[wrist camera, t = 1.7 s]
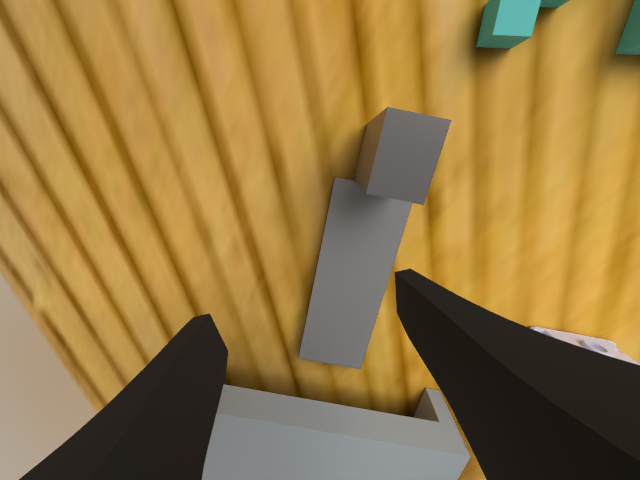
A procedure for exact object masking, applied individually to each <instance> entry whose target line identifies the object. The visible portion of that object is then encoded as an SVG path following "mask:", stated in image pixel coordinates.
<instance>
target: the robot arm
mask: <svg viewBox="0 0 640 480" xmlns="http://www.w3.org/2000/svg"><path fill="white" fill-rule="evenodd" d="M395 285H396V303H397V314H398V316H399V318H400V320H401V322H402V325H403V327H404V329H405V331H406V333H407V335H408V337H409V339H410V340H411V342H412V344H413V345H414V347H415V349H416V350H417V352H418V353H419V355H420V357H421V358H422V360H423V362H424V363H425V365H426V366H427V368H428V370H429V371H430V373H431V374H432V376H433V378H434V379H435V381H436V382H437V384H438V386H439V387H440V389H441V391H442V392H443V394H444V396H445V397H446V399H447V401H448V403H449V404H450V406H451V408H452V410H453V412H454V414H455V416H456V418H457V420H458V422H459V424H460V426H461V428H462V430H463V432H464V434H465V436H466V438H467V440H468V442H469V444H470V446H471V448H472V450H473V452H474V454H475V456H476V458H477V460H478V462H479V464H480V466H481V469H482V471H483V473H484V475H485V477H486V479H487V480H640V364H639V363H638V362H636V361H635V360H633V359H632V358H630V357H629V356H627V355H626V354H624V353H623V352H621V351H620V350H618V349H617V348H616V344H615V343H614V342H612V341H610V340H605V339H600V338H595V337H589V336H584V335H578V334H573V333H568V332H562V331H557V330H552V329H546V328H541V327H534V326H533V327H530V328H528V327H525V326H523V325H520V324H518V323H516V322H513V321H511V320H508V319H506V318H504V317H501V316H499V315H497V314H495V313H493V312H490V311H488V310H486V309H484V308H482V307H480V306H478V305H476V304H474V303H472V302H470V301H468V300H466V299H464V298H462V297H460V296H458V295H456V294H455V293H453V292H451V291H449V290H447V289H445V288H444V287H442V286H440V285H438V284H436V283H435V282H433V281H431V280H429V279H428V278H426V277H424V276H422V275H421V274H419V273H417V272H415V271H413V270H412V269H407V270H402V271H398V272H395ZM227 357H228V350H227V348H226V346H225V344H224V342H223V340H222V338H221V336H220V334H219V332H218V330H217V328H216V326H215V323H214V321H213V319H212V317H211V315H210V314H206V315H201V316H197V317H193V318H192V319H191V320H190V321H189V322H188V323H187V324H186V325H185V326H184V327H183V328H182V329H181V330H180V331H179V332H178V333H177V334H176V335H175V336H174V338H173V339H172V340H171V341H170V342H169V343H168V344H167V345H166V346H165V347H164V348H163V349H162V350H161V351H160V352H159V353H158V354H157V355H156V357H155V358H154V359H153V360H152V361H151V362H150V363H149V364H148V365H147V366H146V367H145V368H144V369H143V370H142V371H141V372H140V373H139V374H138V375H137V376H136V377H135V378H134V379H133V380H132V381H131V382H130V383H129V384H128V385H127V386H126V387H125V388H124V389H123V390H122V391H121V392H120V393H119V394H118V395H117V396H116V397H115V398H114V399H113V400H112V401H111V402H109V403H108V404H107V405H106V406H105V407H104V408H103V409H102V410H101V411H100V412H99V413H98V414H96V415H95V416H94V417H93V418H92V419H91V420H90V421H89V422H88V423H87V424H85V425H84V426H83V427H82V428H81V429H80V430H78V431H77V432H76V433H75V434H74V435H73V436H72V437H70V438H69V439H68V440H67V441H66V442H65V443H63V444H62V445H61V446H60V447H59V448H57V449H56V450H55V451H54V452H52V453H51V454H50V455H49V456H48V457H46V458H45V459H44V460H43V461H42V462H40V463H39V464H38V465H37V466H35V467H34V468H33V469H32V470H30V471H29V472H28V473H27V474H25V475H24V476H23V477H22V478H21V479H19V480H202V475H203V469H204V464H205V459H206V454H207V449H208V445H209V441H210V437H211V433H212V429H213V425H214V421H215V417H216V413H217V409H218V405H219V401H220V397H221V393H222V389H223V385H224V380H225V374H226V367H227Z"/></svg>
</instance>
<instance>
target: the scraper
mask: <svg viewBox="0 0 640 480" xmlns="http://www.w3.org/2000/svg"><path fill="white" fill-rule="evenodd" d="M450 123H451V120H448V119H443V118H438V117H433V116H429V115H424V114H419V113H414V112H409V111H404V110H399V109H394V108H389V107H387V108H386V109H385V110H384V111H382V112H381V113H380V114H379V115H378V116H376V117H375V118H374V119H373V120H371V121H370V122H369V123H368V124H367V125H366V129H365V134H364V138H363V143H362V147H361V151H360V156H359V160H358V164H357V169H356V173H355V178H354V180H350V179H345V178H340V177H335V179H334V184H333V189H332V194H331V198H330V203H329V208H328V213H327V218H326V223H325V228H324V233H323V238H322V243H321V248H320V253H319V258H318V263H317V268H316V273H315V278H314V283H313V288H312V293H311V298H310V303H309V308H308V313H307V317H306V322H305V327H304V332H303V337H302V342H301V347H300V353H299V358H300V359H306V360H311V361H317V362H322V363H328V364H334V365H339V366H345V367H350V368H356V369H361V366H362V363H363V360H364V356H365V353H366V350H367V347H368V344H369V340H370V337H371V334H372V331H373V328H374V324H375V321H376V318H377V315H378V312H379V308H380V305H381V302H382V299H383V296H384V292H385V289H386V286H387V283H388V280H389V276H390V273H391V270H392V267H393V264H394V261H395V257H396V254H397V251H398V248H399V245H400V241H401V238H402V235H403V232H404V229H405V225H406V222H407V219H408V216H409V213H410V209H411V206H412V203H417V204H422V205H424V202H425V199H426V196H427V193H428V189H429V186H430V183H431V180H432V177H433V174H434V171H435V168H436V165H437V162H438V159H439V156H440V153H441V150H442V147H443V144H444V141H445V138H446V135H447V132H448V129H449V126H450Z"/></svg>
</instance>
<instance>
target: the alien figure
mask: <svg viewBox="0 0 640 480" xmlns="http://www.w3.org/2000/svg"><path fill="white" fill-rule="evenodd" d="M567 1H569V0H489V1H488V2H487V3H486V4H485V8H484V13H483V17H482V22H481V27H480V31H479V36H478V41H477V45H476V47H485V48H506V49H511V48H513V47H514V46H516V45H518V44H519V43H521V42H523V41H525V40H526V39H528V38H530V37H531V35H532V32H533V28H534V24H535V21H536V17H537V13H538V10H539V7H552V8H558V7H560V6H561V5H563V4H564V3H566V2H567ZM615 54H631V55H640V0H635V1H634V4H633V7H632V9H631V12H630V15H629V17H628V20H627V23H626V26H625V28H624V31H623V34H622V36H621V39H620V42H619V44H618V47H617V50H616V53H615Z"/></svg>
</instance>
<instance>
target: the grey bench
mask: <svg viewBox="0 0 640 480" xmlns="http://www.w3.org/2000/svg"><path fill="white" fill-rule="evenodd" d="M470 457H471V456H470V454H469V452H468V450H467V448H466V446H465V443H464V441H463V439H462V437H461V435H460V433H459V431H458V428H457V426H456V424H455V422H454V420H453V418H452V415H451V413H450V411H449V409H448V407H447V405H446V403H445V400H444V398H443V396H442V394H441V392H440V390H435V389H429V388H425V391H424V393H423V395H422V397H421V400H420V402H419V404H418V407H417V409H416V411H415V413H414V416H413V417H407V416H401V415H396V414H390V413H384V412H379V411H373V410H367V409H362V408H356V407H350V406H344V405H339V404H333V403H327V402H322V401H316V400H310V399H305V398H299V397H293V396H288V395H282V394H276V393H270V392H265V391H259V390H253V389H248V388H242V387H236V386H231V385H225V384H224V385H223V389H222V393H221V397H220V401H219V405H218V409H217V413H216V417H215V421H214V425H213V429H212V433H211V437H210V441H209V445H208V449H207V454H206V459H205V464H204V469H203V475H202V480H457V479H458V478H459V476H460V474H461V473H462V471H463V469H464V468H465V466H466V464H467V462H468V461H469V459H470Z"/></svg>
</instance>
